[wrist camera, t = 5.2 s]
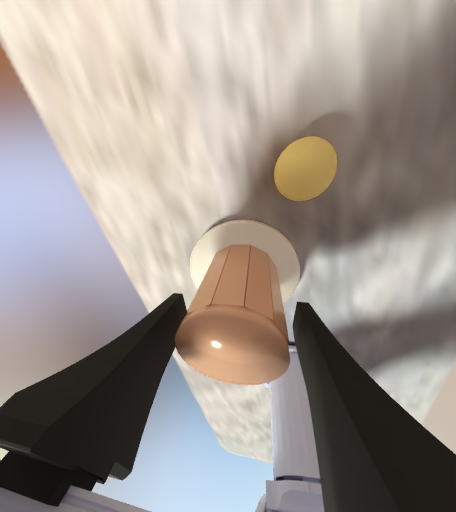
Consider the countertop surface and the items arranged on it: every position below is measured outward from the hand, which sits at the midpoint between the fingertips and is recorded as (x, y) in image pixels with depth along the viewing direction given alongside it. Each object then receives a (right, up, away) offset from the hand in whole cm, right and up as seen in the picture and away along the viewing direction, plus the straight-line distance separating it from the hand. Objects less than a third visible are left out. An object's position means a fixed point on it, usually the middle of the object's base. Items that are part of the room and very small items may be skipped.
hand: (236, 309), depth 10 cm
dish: (+1, +2, +4) cm, 4 cm away
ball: (+4, +9, 0) cm, 9 cm away
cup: (+1, +2, +3) cm, 4 cm away
